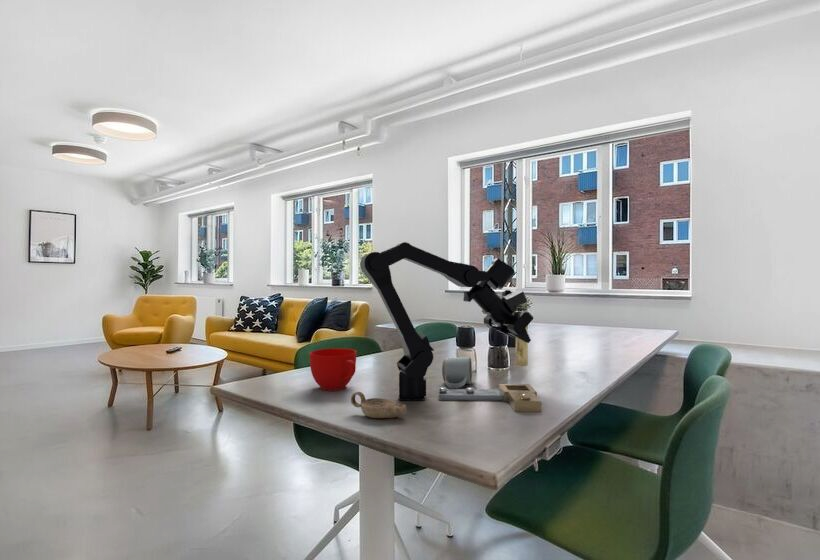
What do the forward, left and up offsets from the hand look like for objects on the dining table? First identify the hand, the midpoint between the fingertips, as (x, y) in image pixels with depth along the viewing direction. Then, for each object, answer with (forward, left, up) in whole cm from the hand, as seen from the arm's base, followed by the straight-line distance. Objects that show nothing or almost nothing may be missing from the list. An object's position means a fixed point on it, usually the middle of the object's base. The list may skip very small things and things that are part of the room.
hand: (526, 340), depth 120 cm
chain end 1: (-12, -9, -13) cm, 20 cm away
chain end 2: (-4, -13, -13) cm, 19 cm away
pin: (-1, 0, -7) cm, 7 cm away
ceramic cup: (-52, -2, -13) cm, 54 cm away
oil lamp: (-38, -25, -13) cm, 48 cm away
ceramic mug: (-19, +4, -13) cm, 23 cm away
